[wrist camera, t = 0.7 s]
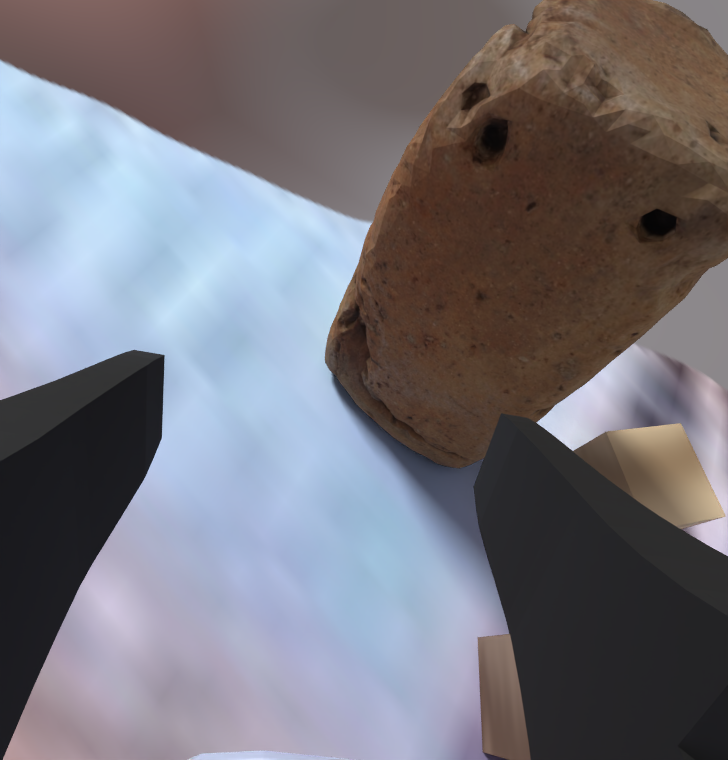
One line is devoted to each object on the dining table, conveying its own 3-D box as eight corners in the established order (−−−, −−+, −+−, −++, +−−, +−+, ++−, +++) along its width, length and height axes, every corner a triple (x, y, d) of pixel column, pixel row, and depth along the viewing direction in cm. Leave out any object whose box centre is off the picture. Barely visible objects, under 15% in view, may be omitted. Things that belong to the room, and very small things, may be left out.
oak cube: (653, 537, 31) (725, 516, 26) (582, 551, 29) (647, 531, 25) (618, 455, 33) (680, 423, 29) (550, 464, 31) (606, 431, 27)
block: (509, 400, 32) (850, 104, 15) (454, 495, 28) (828, 241, 12) (366, 296, 33) (540, -93, 16) (293, 375, 29) (421, -28, 12)
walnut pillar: (574, 755, 24) (777, 802, 16) (482, 751, 23) (645, 800, 15) (561, 644, 26) (733, 632, 18) (477, 637, 25) (617, 622, 17)
